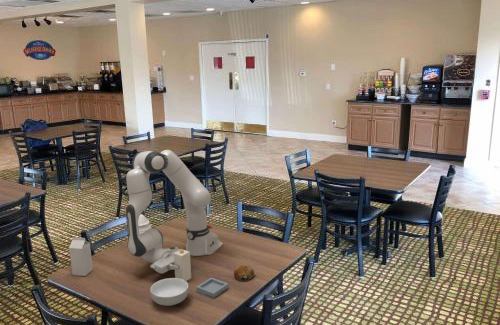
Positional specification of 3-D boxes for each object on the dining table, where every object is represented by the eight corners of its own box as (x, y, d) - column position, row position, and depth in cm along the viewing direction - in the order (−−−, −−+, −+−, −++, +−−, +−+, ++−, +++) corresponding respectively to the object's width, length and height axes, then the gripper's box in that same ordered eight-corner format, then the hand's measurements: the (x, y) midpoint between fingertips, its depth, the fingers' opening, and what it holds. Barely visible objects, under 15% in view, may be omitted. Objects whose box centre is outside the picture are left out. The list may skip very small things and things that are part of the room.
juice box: (183, 275, 212) (181, 246, 209) (191, 278, 209) (189, 249, 206) (175, 279, 208) (173, 250, 205) (183, 282, 205) (181, 253, 202)
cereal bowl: (188, 310, 182) (187, 295, 180) (148, 313, 181) (147, 298, 179) (190, 290, 198) (189, 276, 197) (154, 292, 197) (153, 278, 196)
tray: (211, 282, 205) (211, 277, 204) (228, 288, 199) (228, 283, 198) (196, 291, 197) (196, 286, 196) (213, 298, 191) (213, 293, 190)
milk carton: (85, 276, 214) (81, 241, 209) (72, 275, 215) (68, 240, 211) (93, 269, 221) (89, 235, 216) (80, 268, 222) (76, 234, 218)
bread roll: (255, 281, 212) (257, 265, 213) (249, 282, 202) (251, 265, 204) (236, 278, 215) (238, 262, 217) (229, 279, 206) (232, 262, 207)
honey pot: (127, 243, 252) (124, 214, 248) (140, 235, 264) (137, 207, 260) (145, 246, 248) (143, 217, 244) (158, 237, 259) (155, 209, 255)
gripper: (147, 260, 206) (167, 267, 198) (178, 245, 222) (197, 251, 214) (148, 272, 207) (168, 280, 199) (178, 256, 223) (198, 263, 215)
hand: (183, 265), depth 207 cm, fingers closed on juice box, 5 cm apart
